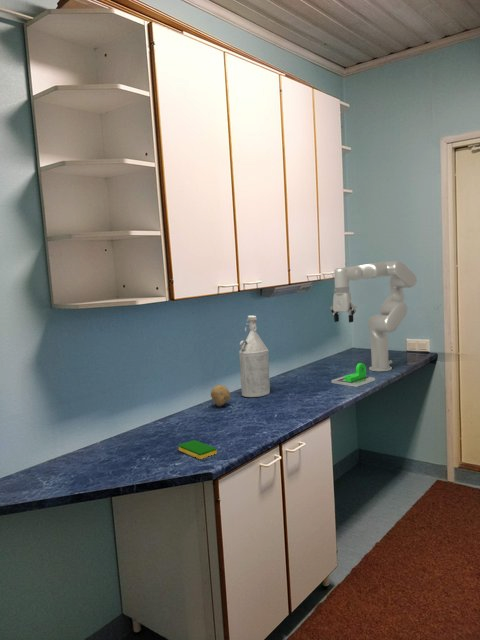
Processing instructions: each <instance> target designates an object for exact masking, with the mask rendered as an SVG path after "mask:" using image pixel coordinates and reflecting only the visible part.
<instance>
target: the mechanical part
mask: <svg viewBox="0 0 480 640" xmlns="http://www.w3.org/2000/svg"><path fill="white" fill-rule="evenodd" d="M343 376H344V379H345V381H349V382H352V381H356V380H359V379H362V378H365V377H366V376H367V366H366V365H365V363H362V362H359V363H357V365H356V367H355V372H354V373H351V374H347V375H343Z"/></svg>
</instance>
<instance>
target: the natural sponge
mask: <svg viewBox="0 0 480 640" xmlns="http://www.w3.org/2000/svg"><path fill="white" fill-rule="evenodd" d="M210 397H211V400H212V401H213V403H214V404H215V405H216V406H218V407H222V406H224V404H226V403H227V402H229V401H230V399H231V393H230V391H229V389H228V387H226V386H225V385H223V384H217V385H216V386H214V387H212V389H211V390H210Z"/></svg>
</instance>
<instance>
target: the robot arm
mask: <svg viewBox="0 0 480 640" xmlns="http://www.w3.org/2000/svg"><path fill="white" fill-rule="evenodd" d="M333 275H334V289H333V292H335V293H333V297H332V298H333V299H332V305H331V306H329V309H330V311H331V313H332V315H333V320H334V321H333V322H334V323H338V322H339V321H340V318H339V317H340V315H339V313H343V312H344V313H346V312H347V313H348V323H353V322H354V315H355V313H356V312H357V311H356V310H357V308H358V307H357V305H355V304H353V300H352V294H351V292H350V281H359V280H360V279H361V280H362V279H366V280H368V279H377V278H382V277H383V278H384V277H389V286H390V293H389V295H388V296H387V297H386V299H385V300H384V302H383V303H382V304H381V306H380V308H379V313H380V314H373V315H371V316H370V317H369V319H367V320H368V322H367V325H368V330H369V336H370V354H371V356H370V357H371V366H369V367H368V370H369V371H370V372H388V371H392V370H393V369H392V368H393V367H392V366H390V365H391V364H393V360H389V358H390V357H389V338H388V335H387V333H393V332H395V331H396V330H397V329H398V327H399V326H400V325H401V323H402V321H403V320H404V319H405V318H406V316H407V313H408V306H407V304H406V302H404V300H405V293H404V288H405V289H406V288H408V289H409V288H413V287H415V286H416V284H417V282H418V280H417V276H416V274H415V273H414V272H413V271H412V270H411V269H410V268H409V267H408V266H407V265H406V264H404V263H403V262H402V261H401V260H386V261H379V262H372V263H371V262H370V263H365V264H359V265H351V266H344V267H339V268H335V269H334V271H333Z"/></svg>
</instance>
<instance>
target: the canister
mask: <svg viewBox="0 0 480 640" xmlns="http://www.w3.org/2000/svg"><path fill="white" fill-rule="evenodd" d="M248 321H249V323H247V322H248ZM247 325H249V326H248V327H247ZM248 329H249V333H248V335H247V336H246V338H245V340H241V341H240V342H239V349H240V350H239V351H238V354H239V355H238V357H239V369H240V370H239V371H240V373H239V374H240V385H241V386H240V387H241V389H240V390H241V396H242V397H245V398H258V397H263V396H267V395H269V394H270V393H271V390H270V389H271V386H270V359H269V358H270V357H269V352H270V351H269V349H268V347H267V346H266V344H265V342H264V340H262V339H261V337H260V335H259V334H258V332H257V316H256V315H247V320H246V325H245V327H244V332H245V333H247V332H248Z"/></svg>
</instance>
